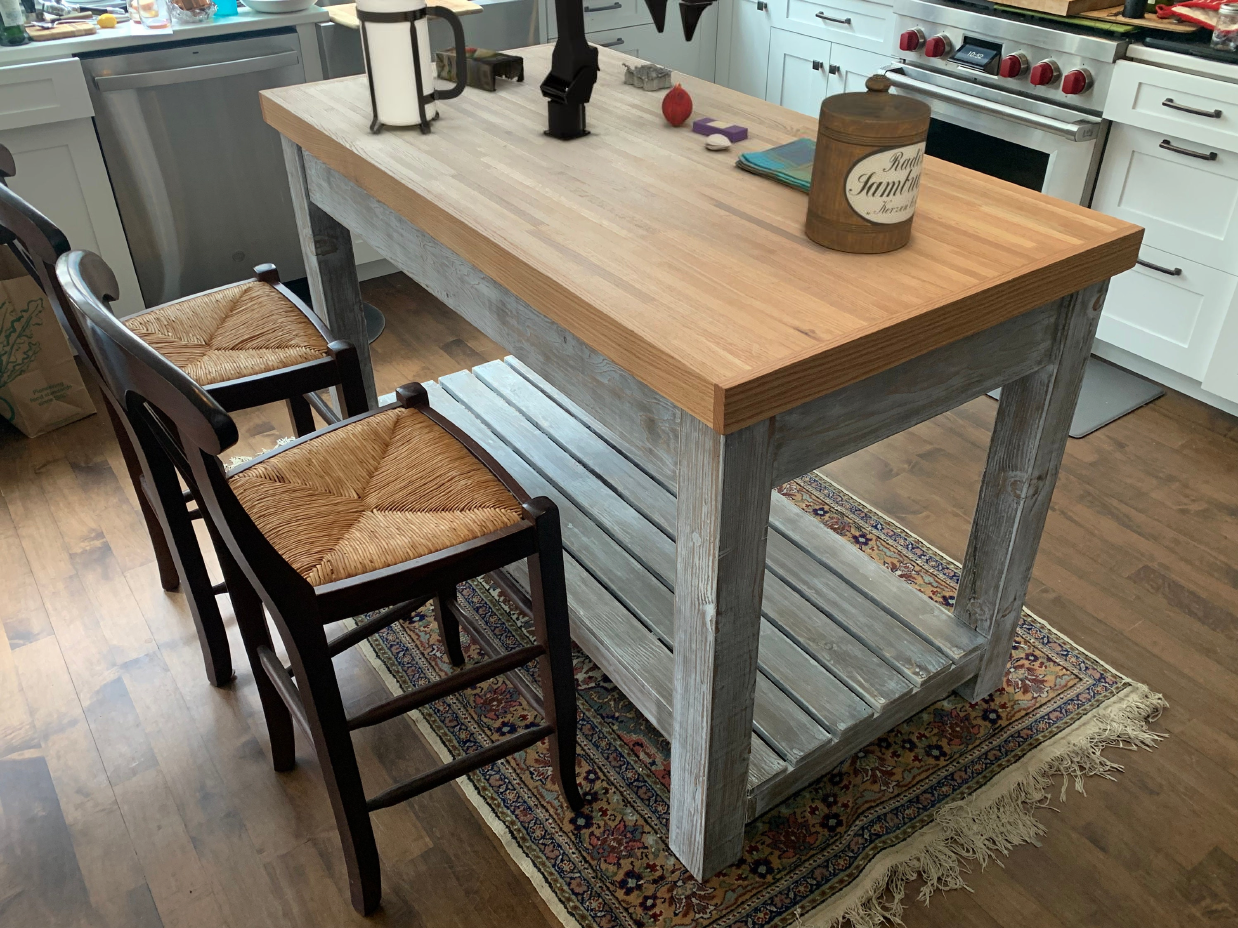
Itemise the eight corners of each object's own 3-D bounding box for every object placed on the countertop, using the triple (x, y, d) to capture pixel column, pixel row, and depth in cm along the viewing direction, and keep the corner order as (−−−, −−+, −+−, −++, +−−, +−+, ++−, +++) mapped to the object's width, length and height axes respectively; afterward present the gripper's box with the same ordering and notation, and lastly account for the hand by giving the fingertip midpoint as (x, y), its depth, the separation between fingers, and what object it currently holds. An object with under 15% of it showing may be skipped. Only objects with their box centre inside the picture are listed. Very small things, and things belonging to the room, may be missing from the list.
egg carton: (619, 82, 215) (619, 62, 213) (648, 77, 218) (648, 58, 216) (647, 92, 207) (647, 72, 205) (676, 87, 211) (676, 67, 208)
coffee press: (392, 144, 178) (369, -41, 161) (351, 124, 188) (325, -52, 171) (474, 126, 187) (459, -50, 170) (430, 108, 197) (413, -60, 180)
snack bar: (747, 138, 181) (748, 127, 180) (733, 143, 178) (733, 132, 177) (706, 127, 187) (706, 117, 186) (692, 131, 184) (692, 121, 183)
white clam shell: (714, 144, 178) (715, 130, 176) (737, 150, 175) (738, 135, 174) (700, 150, 175) (701, 136, 174) (724, 155, 172) (725, 141, 171)
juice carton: (431, 77, 218) (428, 47, 215) (465, 69, 224) (463, 41, 221) (492, 94, 207) (491, 63, 204) (526, 85, 213) (525, 55, 210)
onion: (692, 131, 184) (694, 87, 180) (661, 131, 184) (662, 87, 180) (691, 122, 189) (692, 79, 184) (661, 122, 189) (662, 79, 185)
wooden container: (859, 263, 134) (884, 95, 121) (783, 230, 144) (799, 72, 131) (931, 238, 141) (962, 78, 128) (854, 208, 151) (875, 57, 138)
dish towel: (806, 149, 175) (807, 135, 174) (909, 185, 160) (912, 169, 158) (733, 168, 167) (734, 153, 165) (834, 207, 151) (836, 191, 150)
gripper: (744, -52, 176) (738, 41, 184) (684, -63, 188) (680, 24, 197) (694, -48, 171) (689, 48, 179) (635, -60, 184) (633, 30, 192)
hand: (674, 37), depth 187 cm, fingers open, 9 cm apart
